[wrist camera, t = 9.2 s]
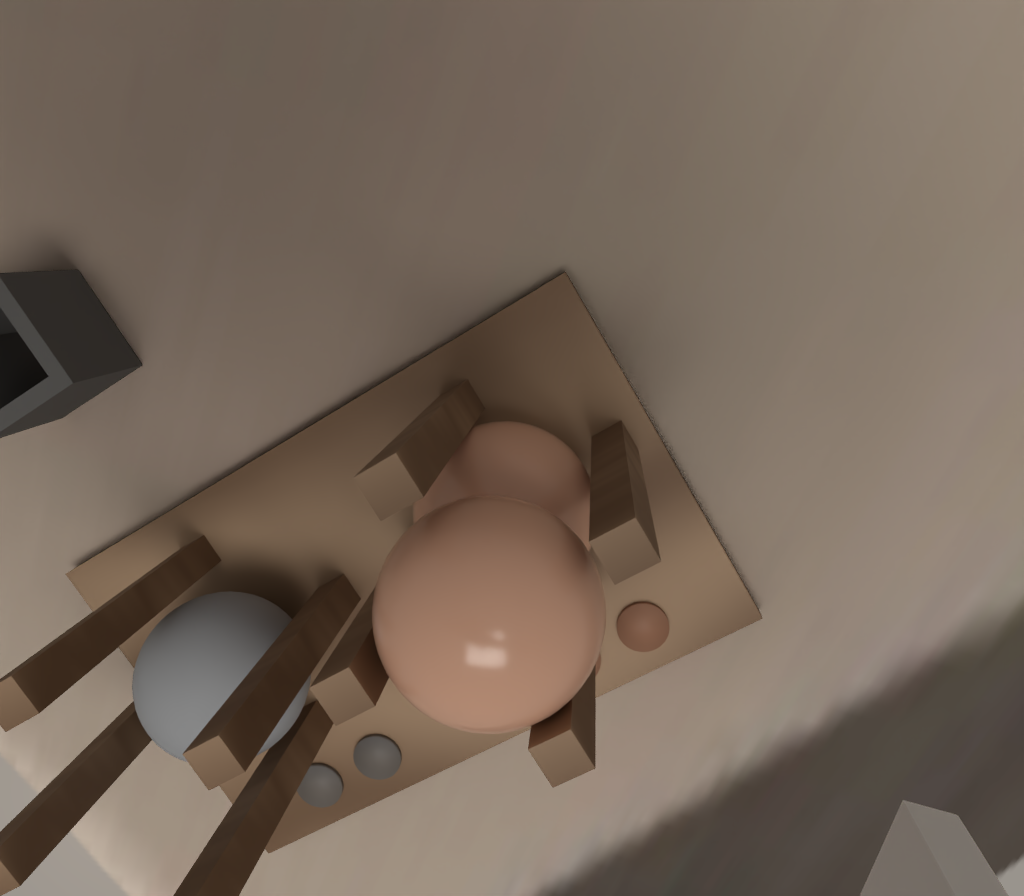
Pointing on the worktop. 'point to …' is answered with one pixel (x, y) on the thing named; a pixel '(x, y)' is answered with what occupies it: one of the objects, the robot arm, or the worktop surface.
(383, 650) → the ball loose
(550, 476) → the ball
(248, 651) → the ball
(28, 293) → the stand
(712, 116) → the worktop surface
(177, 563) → the rack
